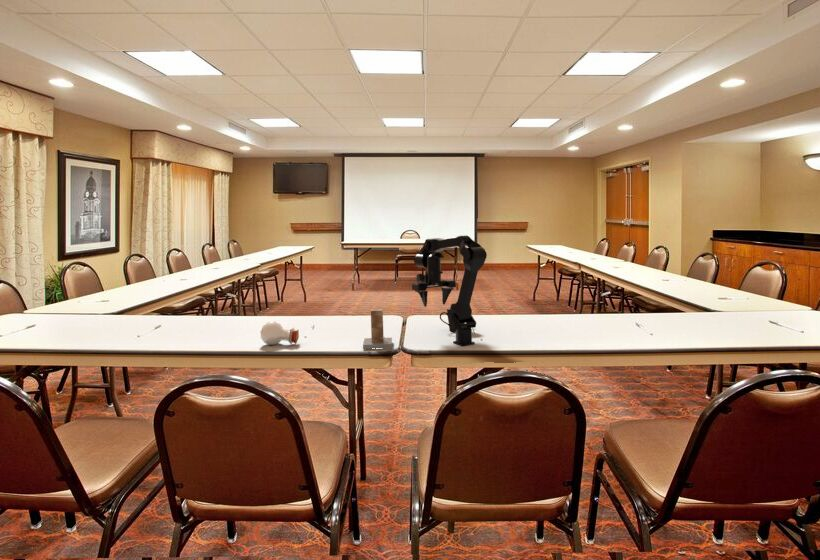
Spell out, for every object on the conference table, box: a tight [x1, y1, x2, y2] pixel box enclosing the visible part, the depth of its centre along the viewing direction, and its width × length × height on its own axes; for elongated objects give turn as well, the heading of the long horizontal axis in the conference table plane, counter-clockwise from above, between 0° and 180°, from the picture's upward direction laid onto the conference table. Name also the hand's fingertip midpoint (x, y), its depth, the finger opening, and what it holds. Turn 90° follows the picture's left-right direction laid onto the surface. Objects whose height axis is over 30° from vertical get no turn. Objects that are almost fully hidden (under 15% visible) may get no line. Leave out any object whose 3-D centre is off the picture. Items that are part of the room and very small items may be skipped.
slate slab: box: [362, 337, 393, 350], centre depth 208 cm, size 11×11×2 cm
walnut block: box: [370, 308, 385, 343], centre depth 207 cm, size 4×4×12 cm
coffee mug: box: [439, 306, 466, 333], centre depth 232 cm, size 12×9×10 cm
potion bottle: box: [259, 321, 300, 346], centre depth 214 cm, size 9×10×15 cm
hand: (434, 305), depth 222 cm, fingers open, 9 cm apart
